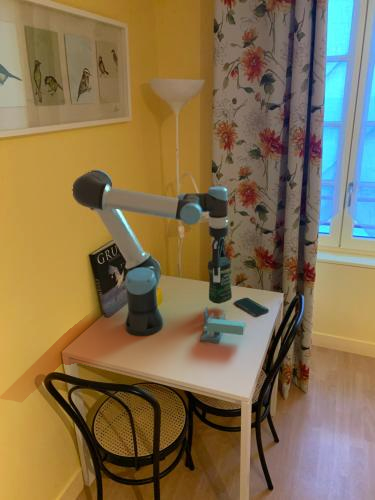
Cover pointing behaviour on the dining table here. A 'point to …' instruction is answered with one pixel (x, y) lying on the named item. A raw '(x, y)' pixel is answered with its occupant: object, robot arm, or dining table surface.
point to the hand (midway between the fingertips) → (219, 276)
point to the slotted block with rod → (209, 335)
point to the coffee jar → (223, 289)
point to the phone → (251, 307)
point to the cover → (225, 326)
